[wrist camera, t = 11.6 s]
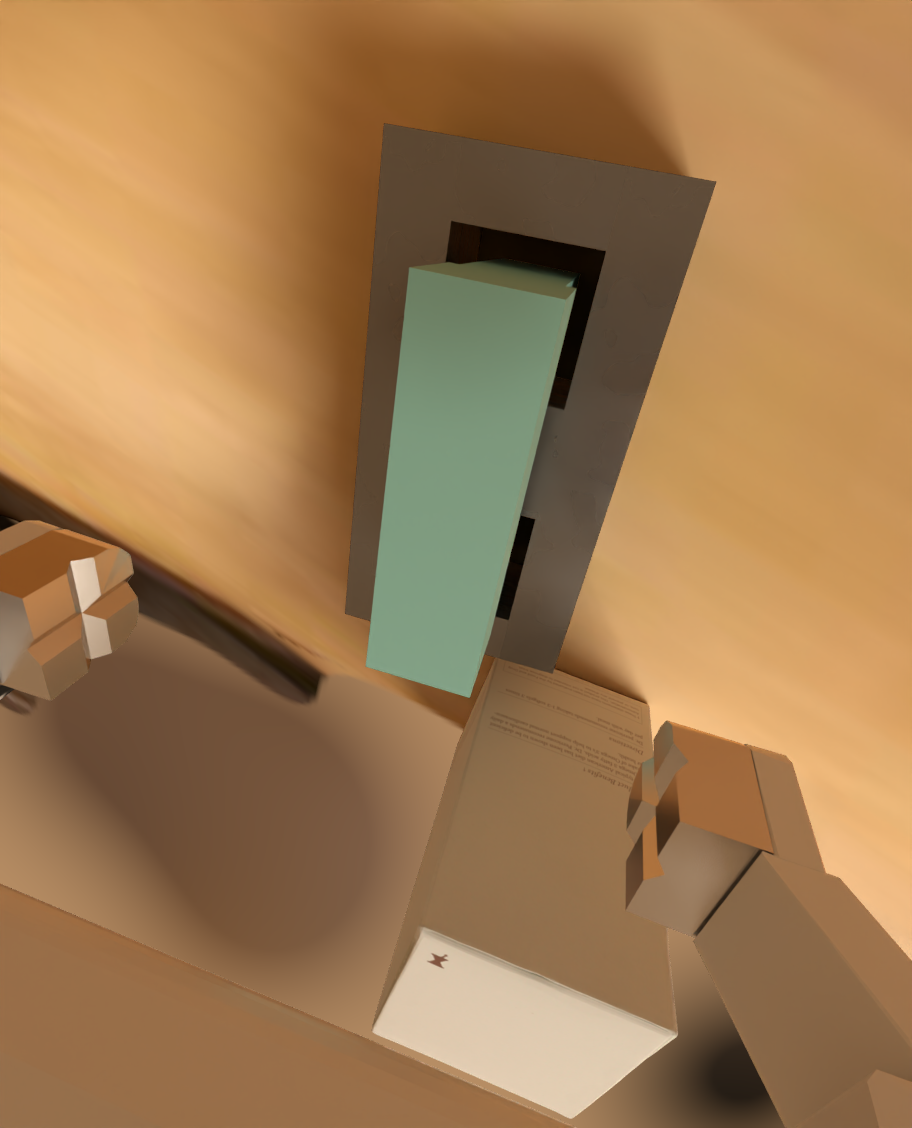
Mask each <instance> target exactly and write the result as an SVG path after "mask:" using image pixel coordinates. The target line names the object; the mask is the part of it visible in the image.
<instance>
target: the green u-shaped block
mask: <svg viewBox="0 0 912 1128" xmlns="http://www.w3.org/2000/svg"><path fill="white" fill-rule="evenodd" d="M580 274H581V273H576V272H571V271H566V270H561V269H556V268H551V267H546V266H541V265H536V264H531V263H526V262H521V261H516V260H511V259H507V258H499V259H493V260H486V261H479V262H472V263H465V264H455V263H450V262H447V263H439V264H431V265H424V266H416V267H409V276H408V285H407V294H406V303H405V313H404V322H403V331H402V340H401V349H400V358H399V367H398V376H397V386H396V395H395V404H394V413H393V422H392V431H391V440H390V450H389V459H388V468H387V477H386V486H385V495H384V504H383V513H382V523H381V532H380V541H379V550H378V559H377V568H376V577H375V587H374V596H373V605H372V614H371V623H370V632H369V641H368V650H367V660H366V667H369V668H372V669H375V670H378V671H382V672H385V673H388V674H392V675H395V676H398V677H402V678H405V679H408V680H412V681H415V682H418V683H422V684H425V685H428V686H432V687H435V688H438V689H441V690H445V691H448V692H451V693H455V694H458V695H461V696H465V697H468V698H470V696H471V693H472V690H473V687H474V684H475V681H476V678H477V675H478V671H479V668H480V665H481V662H482V659H483V656H484V653H485V650H486V647H487V644H488V641H489V638H490V635H491V631H492V627H493V623H494V619H495V615H496V611H497V607H498V603H499V599H500V595H501V591H502V587H503V583H504V578H505V574H506V570H507V566H508V562H509V558H510V554H511V550H512V547H513V544H514V540H515V535H516V531H517V527H518V523H519V519H520V514H521V510H522V506H523V502H524V498H525V494H526V490H527V486H528V482H529V478H530V474H531V470H532V466H533V462H534V458H535V454H536V449H537V445H538V441H539V437H540V433H541V429H542V425H543V421H544V417H545V413H546V409H547V405H548V401H549V397H550V393H551V389H552V385H553V381H554V377H555V373H556V369H557V365H558V361H559V357H560V354H561V350H562V346H563V342H564V338H565V334H566V330H567V326H568V322H569V318H570V314H571V310H572V306H573V302H574V298H575V294H576V290H577V286H578V282H579V278H580Z"/></svg>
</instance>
